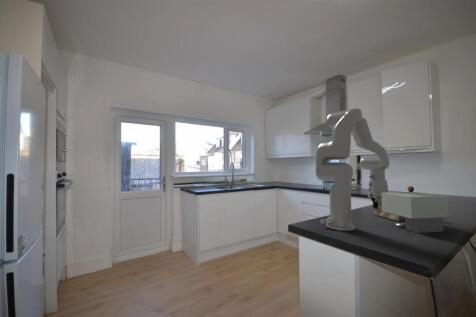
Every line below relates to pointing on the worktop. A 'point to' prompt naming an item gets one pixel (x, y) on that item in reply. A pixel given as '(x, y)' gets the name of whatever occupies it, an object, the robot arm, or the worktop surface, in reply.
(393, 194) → the grey block
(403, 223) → the grey shiny disc
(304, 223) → the worktop surface
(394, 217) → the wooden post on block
